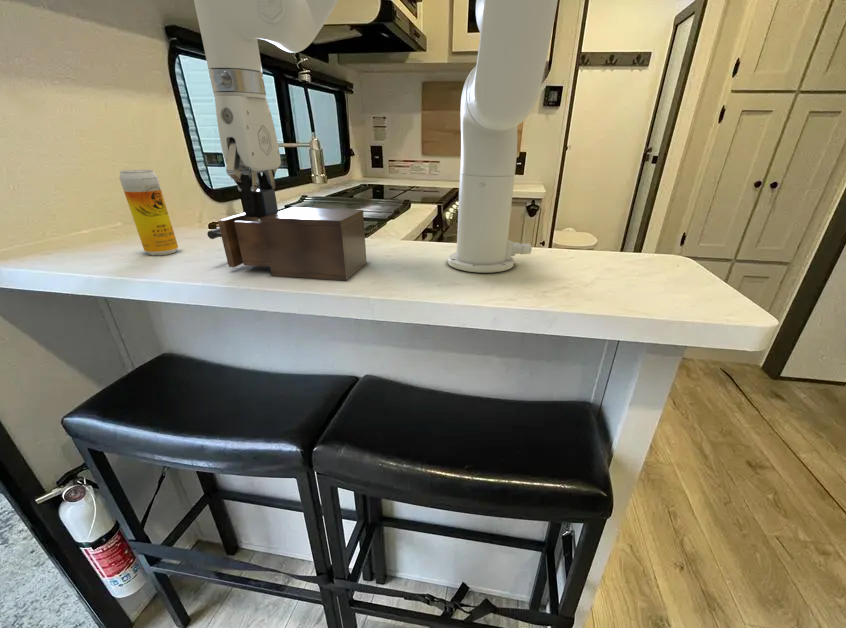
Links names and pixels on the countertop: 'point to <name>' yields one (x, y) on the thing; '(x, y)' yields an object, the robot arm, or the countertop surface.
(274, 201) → the block
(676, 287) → the countertop surface
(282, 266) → the cabinet
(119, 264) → the countertop surface
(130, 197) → the beer can
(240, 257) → the drawer
